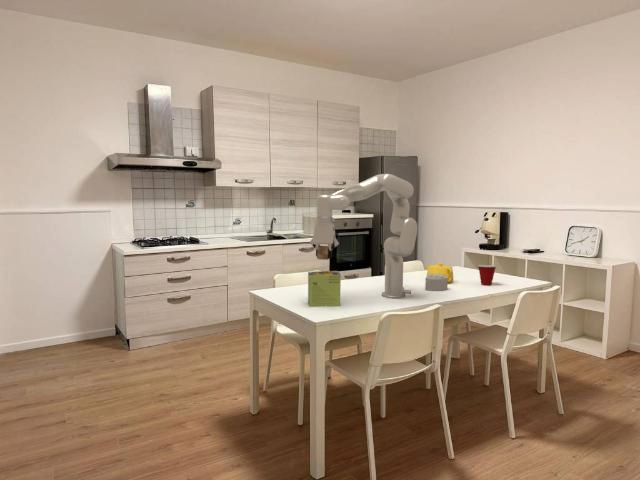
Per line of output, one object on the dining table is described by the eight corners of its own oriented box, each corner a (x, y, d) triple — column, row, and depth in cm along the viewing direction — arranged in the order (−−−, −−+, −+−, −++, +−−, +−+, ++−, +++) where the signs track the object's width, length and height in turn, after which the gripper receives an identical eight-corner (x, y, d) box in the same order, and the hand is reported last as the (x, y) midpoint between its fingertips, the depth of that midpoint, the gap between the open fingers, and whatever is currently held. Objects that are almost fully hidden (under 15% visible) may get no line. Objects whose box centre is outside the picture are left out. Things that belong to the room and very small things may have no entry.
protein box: (340, 306, 212) (341, 274, 211) (308, 306, 211) (308, 274, 210) (338, 301, 223) (338, 270, 221) (307, 301, 221) (307, 271, 220)
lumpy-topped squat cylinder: (449, 289, 253) (450, 274, 252) (435, 292, 245) (435, 277, 244) (435, 286, 261) (435, 272, 260) (420, 289, 253) (421, 274, 252)
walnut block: (330, 258, 216) (330, 246, 216) (327, 259, 211) (327, 247, 211) (320, 257, 218) (320, 245, 217) (317, 259, 213) (317, 246, 212)
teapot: (419, 279, 282) (420, 261, 281) (433, 278, 289) (433, 260, 288) (444, 285, 266) (445, 265, 265) (458, 283, 273) (458, 264, 271)
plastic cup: (491, 282, 274) (492, 263, 272) (498, 286, 263) (499, 266, 262) (473, 282, 273) (474, 263, 272) (480, 286, 263) (481, 266, 261)
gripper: (343, 220, 214) (342, 258, 216) (310, 219, 219) (309, 256, 221) (339, 221, 207) (338, 260, 208) (305, 220, 212) (304, 258, 214)
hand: (323, 257), depth 215 cm, fingers closed on walnut block, 5 cm apart
